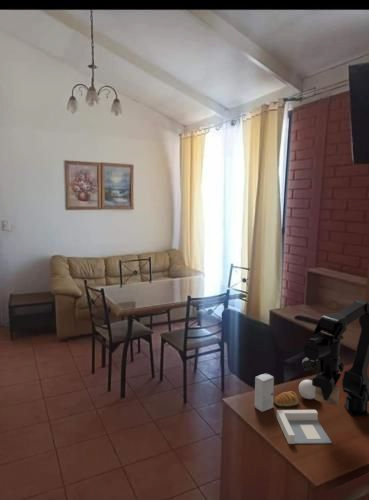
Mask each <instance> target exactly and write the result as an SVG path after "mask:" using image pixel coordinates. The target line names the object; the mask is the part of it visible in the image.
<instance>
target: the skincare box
mask: <svg viewBox="0 0 369 500" xmlns="http://www.w3.org/2000/svg"><path fill="white" fill-rule="evenodd" d="M274 384H275V377H274V376H273V375H271V374H269V373H263V374H262V373H261V374H259V375H257V376H255V377H254V408H256V409H257V410H258V411H260V412H262V413H263V412H265V411H267V410H271V409H273V408H274V391H275V390H274V387H275V385H274Z"/></svg>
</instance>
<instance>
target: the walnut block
mask: <svg viewBox="0 0 369 500" xmlns="http://www.w3.org/2000/svg"><path fill="white" fill-rule="evenodd" d="M340 391H341V387H340V386H337V385H335V387H334V389H333V391H332V393H331V395H330V396H329V398H328V400H327V401H326V400H324V399H323V394H322V390H321V388H319V387H315V398H314V400H316V401H317V402H321V403H325V404H328V405H331V406H334V407H338V404H339V402H340Z"/></svg>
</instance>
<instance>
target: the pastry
mask: <svg viewBox="0 0 369 500" xmlns="http://www.w3.org/2000/svg"><path fill="white" fill-rule="evenodd" d="M299 402H300V400H299V397H298V395H297V394H296V392H294V391H292V390H289V391H284V392H280V394H277V395H276V396H275V397H273V404H275V405H277V406H278V407H292V406H297V405H298V404H299Z"/></svg>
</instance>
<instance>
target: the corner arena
mask: <svg viewBox="0 0 369 500" xmlns="http://www.w3.org/2000/svg"><path fill="white" fill-rule="evenodd" d="M318 415H319V412H318V411H317V410H316V409H276V420H277V421H278V424H279V426H280V428H281V431H282V433H283V435H284V437H285V440H286V442H287V444H288V445H292V444H293V445H296V444H297V445H308V444H311V445H312V444H313V445H314V444H325V445H326V444H333V443H332V440H331V439H330V437H329V436H328V434H327V433H326V431H325V430H324V428H323V427H322V424H320V423H321V422H319V419H318Z"/></svg>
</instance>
